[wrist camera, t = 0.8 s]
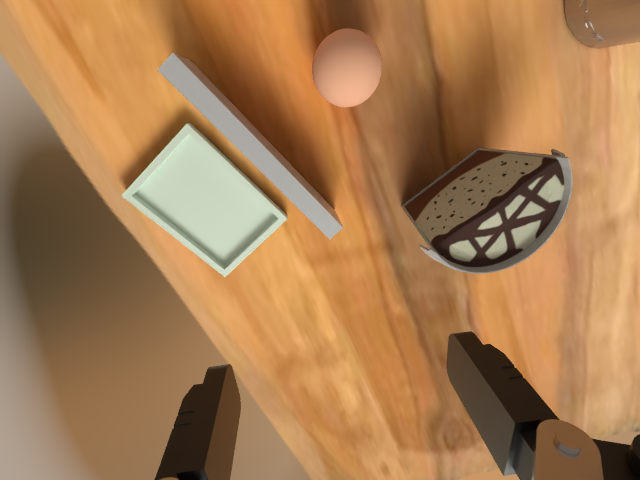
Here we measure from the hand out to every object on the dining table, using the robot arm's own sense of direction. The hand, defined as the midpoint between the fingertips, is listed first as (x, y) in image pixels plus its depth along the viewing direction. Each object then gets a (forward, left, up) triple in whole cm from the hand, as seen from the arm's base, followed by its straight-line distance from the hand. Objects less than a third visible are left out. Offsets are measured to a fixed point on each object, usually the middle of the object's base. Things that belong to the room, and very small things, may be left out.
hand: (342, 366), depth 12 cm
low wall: (-1, -6, -22) cm, 23 cm away
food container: (-11, +11, -23) cm, 27 cm away
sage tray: (+7, -6, -22) cm, 24 cm away
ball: (-10, -6, -22) cm, 25 cm away
